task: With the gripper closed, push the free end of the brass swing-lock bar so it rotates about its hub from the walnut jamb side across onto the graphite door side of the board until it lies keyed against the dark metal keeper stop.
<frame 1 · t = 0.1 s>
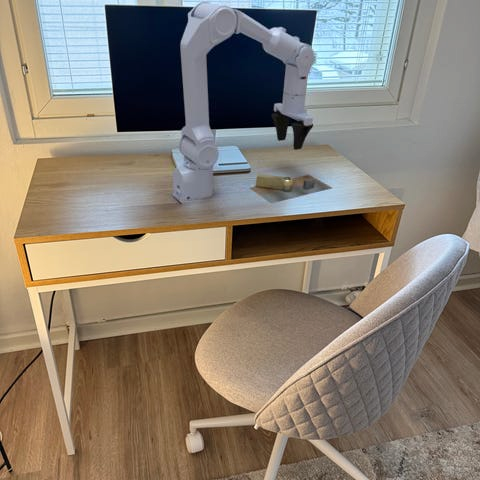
hand: (289, 144, 125), 10 cm above the table, fingers open, 7 cm apart
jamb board: (291, 192, 122), on the table
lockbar: (274, 181, 120), point 3 cm above the table, hinge at 135.0°
keeper stop: (308, 188, 122), resting on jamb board
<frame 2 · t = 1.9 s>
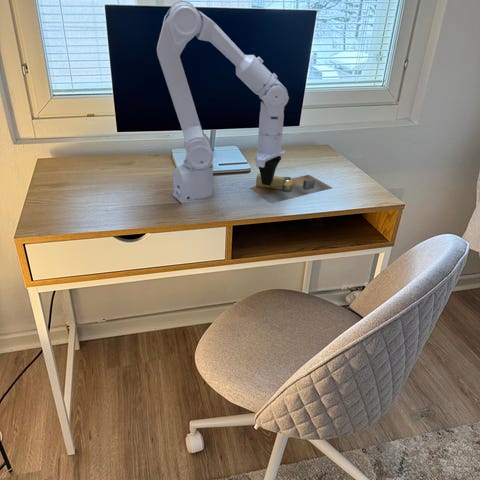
hand: (266, 184, 118), 3 cm above the table, fingers closed
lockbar: (274, 181, 120), point 3 cm above the table, hinge at 135.0°, touching gripper
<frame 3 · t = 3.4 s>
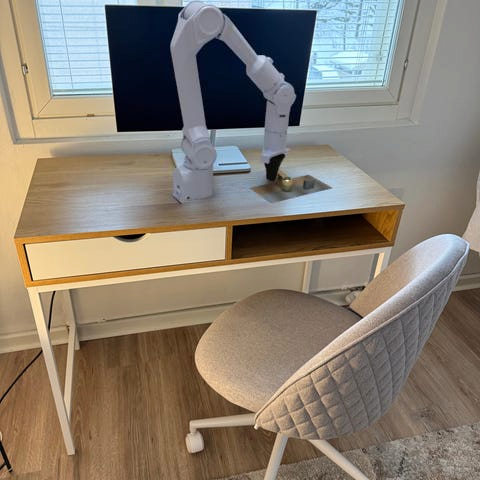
hand: (271, 180, 123), 2 cm above the table, fingers closed, pressing on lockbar
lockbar: (281, 178, 122), point 3 cm above the table, hinge at 78.5°, touching gripper
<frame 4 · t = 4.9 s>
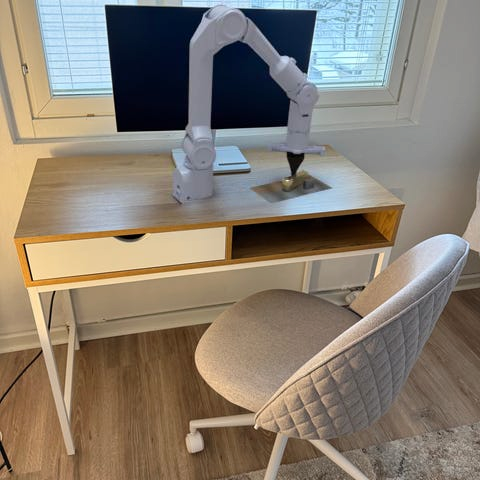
hand: (292, 178, 124), 2 cm above the table, fingers closed, pressing on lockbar
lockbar: (294, 179, 121), point 3 cm above the table, hinge at 16.4°, touching gripper
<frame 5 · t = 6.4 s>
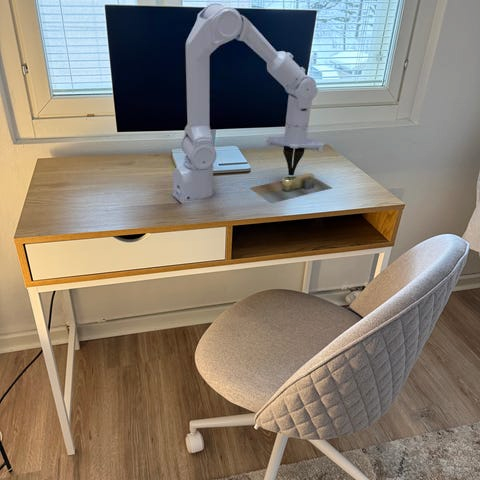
hand: (291, 174, 123), 3 cm above the table, fingers closed
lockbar: (297, 181, 121), point 3 cm above the table, hinge at -1.8°
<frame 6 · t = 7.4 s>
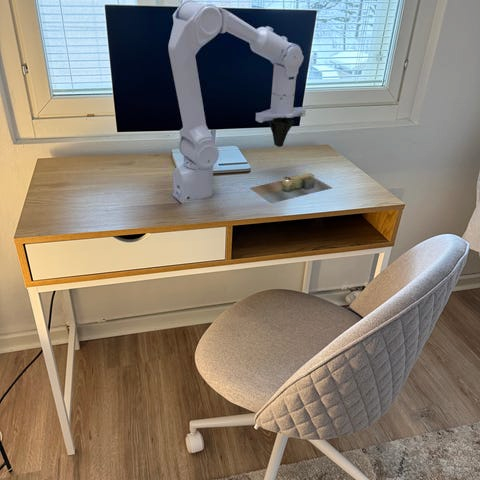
hand: (278, 145, 123), 10 cm above the table, fingers closed
nothing on the table moved.
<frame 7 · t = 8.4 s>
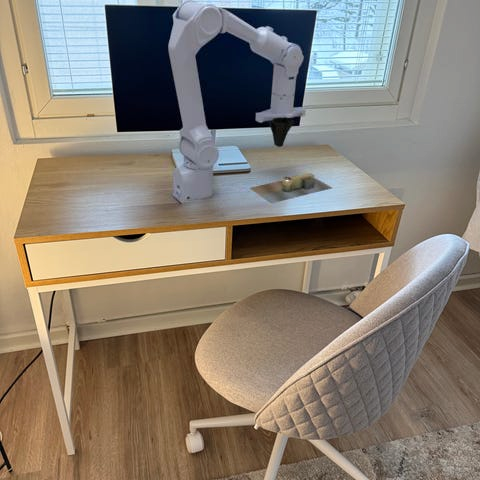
hand: (278, 145, 123), 10 cm above the table, fingers closed
nothing on the table moved.
at the end: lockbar at -2° (first picture: +135°) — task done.
